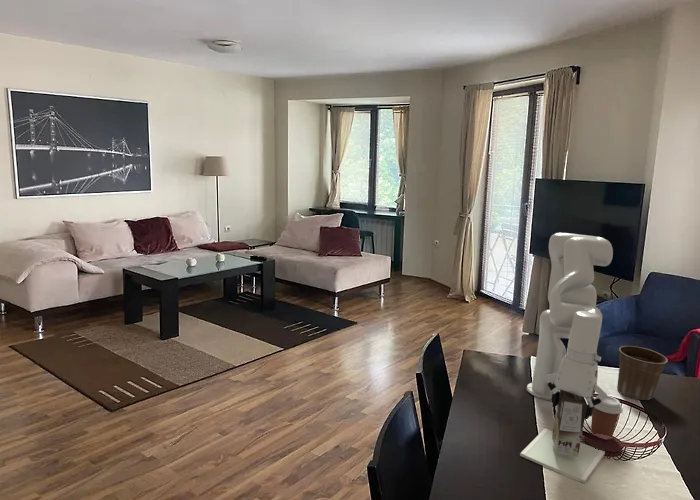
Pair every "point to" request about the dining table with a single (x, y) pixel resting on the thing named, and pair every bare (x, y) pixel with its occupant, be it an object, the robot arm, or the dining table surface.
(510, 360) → the dining table surface
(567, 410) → the coffee box
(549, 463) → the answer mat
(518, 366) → the dining table surface
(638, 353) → the plant pot
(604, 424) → the coffee cup
